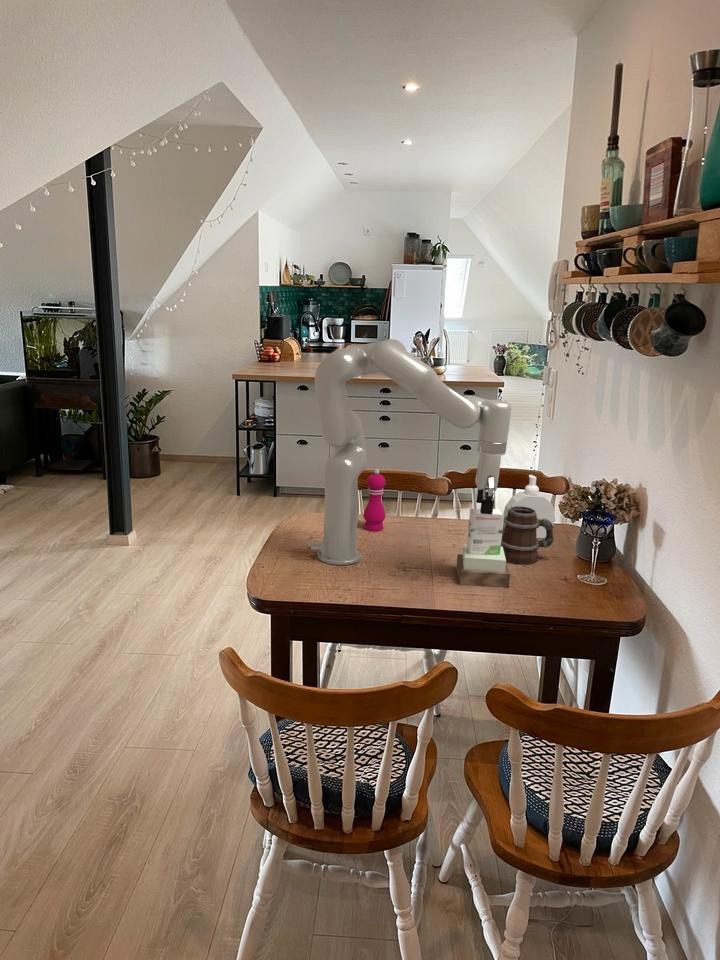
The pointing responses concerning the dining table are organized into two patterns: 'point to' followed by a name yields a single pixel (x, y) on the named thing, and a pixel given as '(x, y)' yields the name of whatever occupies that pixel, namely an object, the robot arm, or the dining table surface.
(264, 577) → the dining table surface
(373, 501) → the pepper mill
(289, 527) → the dining table surface
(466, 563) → the tower top
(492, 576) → the tower base
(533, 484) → the soap bottle
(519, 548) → the mug
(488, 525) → the ink box
